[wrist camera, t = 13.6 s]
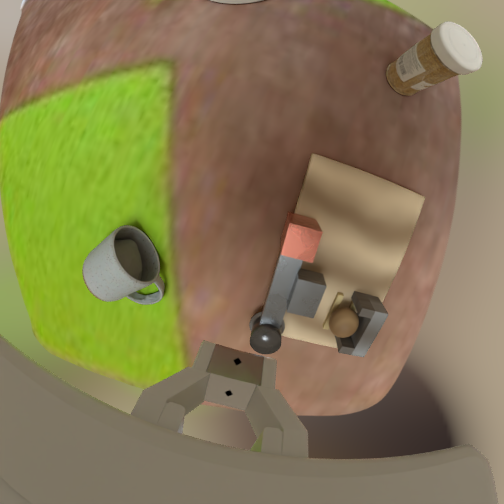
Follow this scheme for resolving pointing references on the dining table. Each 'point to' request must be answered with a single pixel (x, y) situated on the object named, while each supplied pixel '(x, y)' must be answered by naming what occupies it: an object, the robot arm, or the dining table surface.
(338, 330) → the brown ball
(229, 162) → the dining table surface
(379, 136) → the dining table surface
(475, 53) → the sprinkles bottle
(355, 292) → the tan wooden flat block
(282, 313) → the lever
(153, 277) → the ceramic mug
